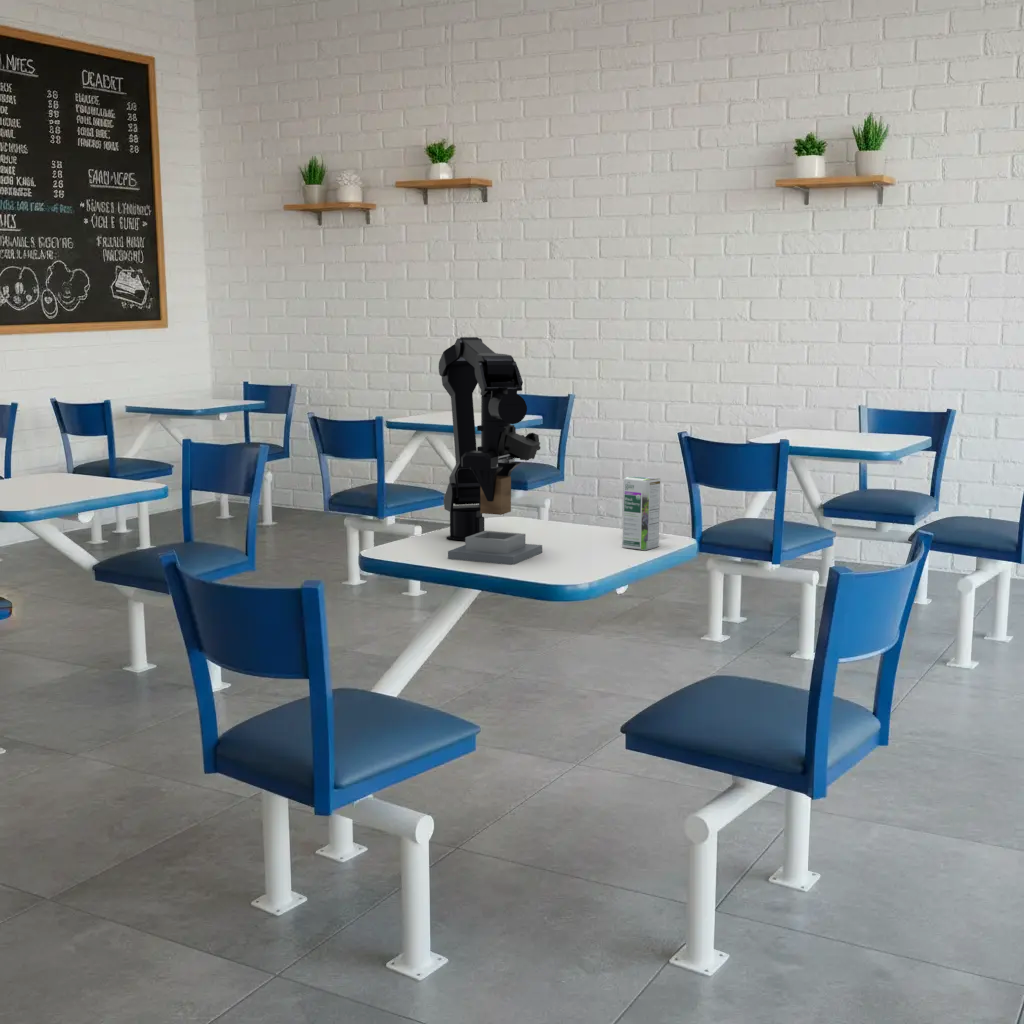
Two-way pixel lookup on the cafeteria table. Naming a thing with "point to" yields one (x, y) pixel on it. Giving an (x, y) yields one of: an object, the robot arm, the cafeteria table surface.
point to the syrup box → (641, 512)
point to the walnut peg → (498, 497)
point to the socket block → (495, 548)
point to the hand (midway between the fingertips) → (495, 499)
